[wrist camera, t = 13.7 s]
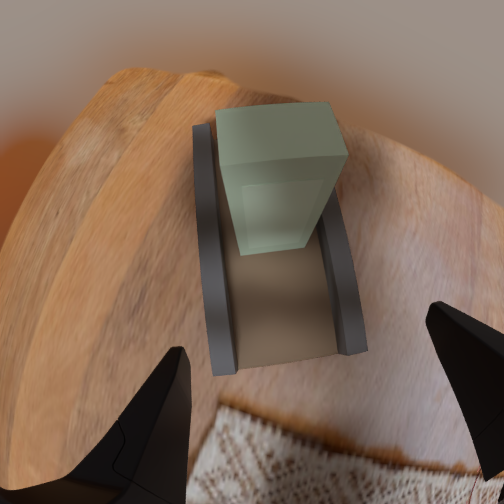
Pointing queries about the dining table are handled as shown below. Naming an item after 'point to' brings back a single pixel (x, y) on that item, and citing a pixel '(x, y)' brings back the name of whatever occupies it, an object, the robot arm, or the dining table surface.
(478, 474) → the pink leafy branch
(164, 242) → the dining table surface
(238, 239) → the sage green panelled box
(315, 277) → the door track
